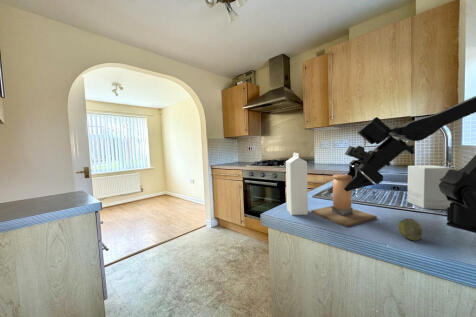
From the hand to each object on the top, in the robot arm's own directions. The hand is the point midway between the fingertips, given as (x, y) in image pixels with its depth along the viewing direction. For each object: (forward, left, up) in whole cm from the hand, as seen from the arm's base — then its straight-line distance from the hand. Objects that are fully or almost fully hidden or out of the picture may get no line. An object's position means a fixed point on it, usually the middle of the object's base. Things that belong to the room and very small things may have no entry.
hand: (343, 187), depth 64 cm
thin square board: (0, 0, -10) cm, 10 cm away
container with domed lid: (0, 0, -7) cm, 7 cm away
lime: (-18, -1, -10) cm, 21 cm away
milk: (+10, +11, -10) cm, 18 cm away
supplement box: (-8, -36, -10) cm, 38 cm away
